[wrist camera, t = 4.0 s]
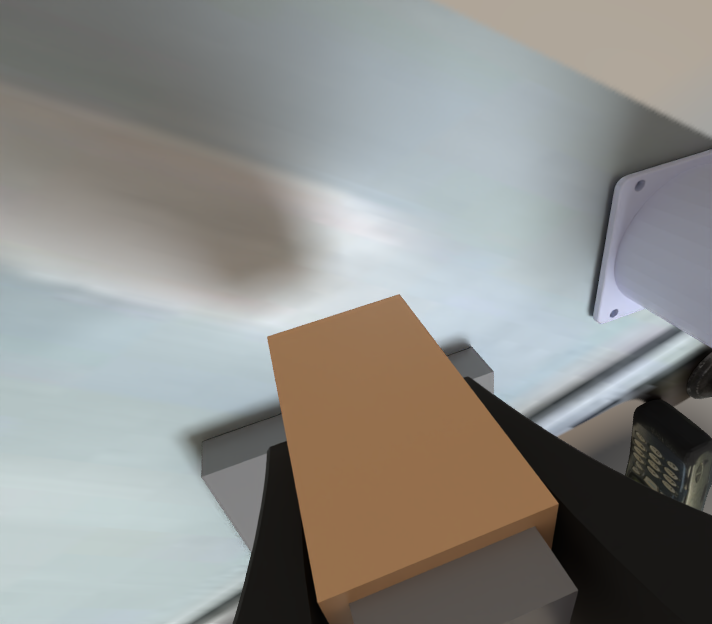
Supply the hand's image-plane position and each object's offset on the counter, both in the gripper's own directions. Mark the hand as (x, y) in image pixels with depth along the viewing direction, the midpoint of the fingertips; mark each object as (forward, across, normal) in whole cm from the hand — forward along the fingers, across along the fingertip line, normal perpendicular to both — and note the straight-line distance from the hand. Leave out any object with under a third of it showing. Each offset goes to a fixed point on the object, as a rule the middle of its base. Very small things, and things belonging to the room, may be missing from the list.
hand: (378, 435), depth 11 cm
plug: (+3, 0, 0) cm, 3 cm away
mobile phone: (+8, -21, +24) cm, 33 cm away
